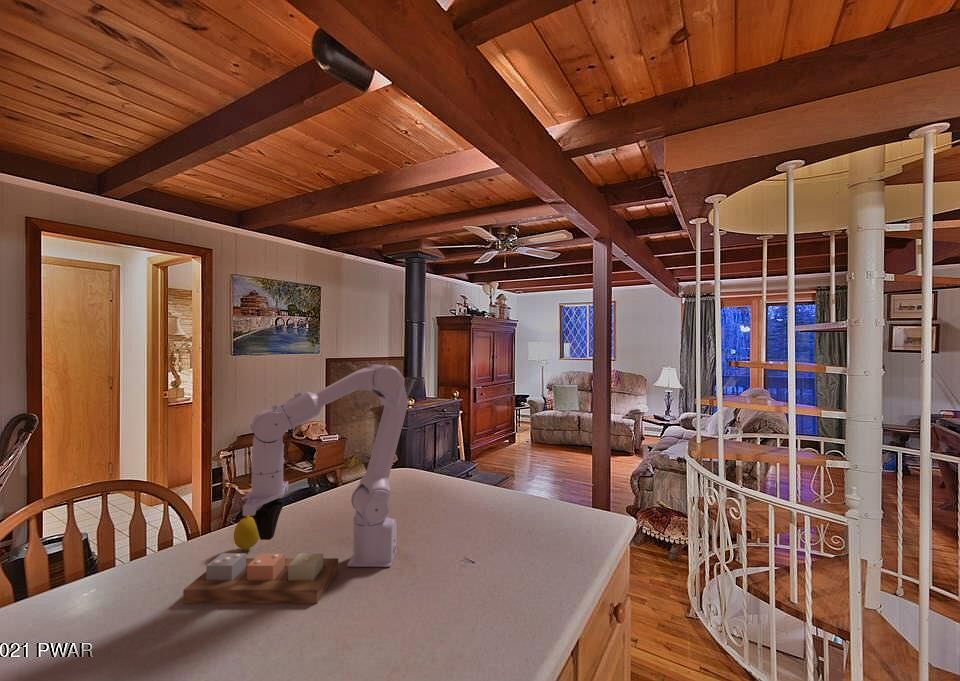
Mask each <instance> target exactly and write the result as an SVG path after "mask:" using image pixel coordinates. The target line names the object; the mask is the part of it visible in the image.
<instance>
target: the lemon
mask: <svg viewBox="0 0 960 681" xmlns="http://www.w3.org/2000/svg"><path fill="white" fill-rule="evenodd" d="M259 540H260V537H259V533H258V529H257V526H256V523H255V521H254V519H253V517H252V516H244V517H243V518H242V519H240V521H238V522H237V523H236V525H235V528H234V532H233V541H234V544H235V545H236V547H238V548H240V549H243V550H244V551H249V550H250V549H251V548H253V547H254V546H255V545H256V544H257V543H258V541H259Z"/></svg>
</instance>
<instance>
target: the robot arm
mask: <svg viewBox="0 0 960 681" xmlns="http://www.w3.org/2000/svg"><path fill="white" fill-rule="evenodd" d="M405 380H406V379H405V376H403V374H402V372H401V371H400V370H399V369H398V368H397V367H395V366H393V365H389V364H388V365H387V364H385V365H384V364H380V363H379V364H378V363H373V364H371V365H369V366H368V367H362V368H361V369H357V370H356V371H354V372H352V373H350V374H348V375H346V376H345V377H342V378H341V379H339V380H337V381H334V383H331V384H330V385H328V386H326V387H325V388H322V389H321V390H319V391H316V392H315V393H314V392H311V391H304V392H301V391H300V390H299V391H297V392H295V393H293V395H294V396H293V397H292V398H289V399H287V400H285V401H283V402H281V403H280V404H277V403H274V404H271V408H272V409H265V410H264V409H263V410H261V411H259V412H258V413H257V414H256V415H255V416H254V417H253V419H252V421H251V423H250V427H251V428H250V429H251V431H252V433H253V434H254V436H253V439H252V446H253V448H251V490H249V491H247V492H246V493H245V497H246V498H248V499H247V501H246V503H244V504H242V516H243V517H246V516H250V517H253V519H254V521H255V523H256V526H257V529H258V533H259V540H261V541H265V540H266V541H267V540H268V541H269V540H272V539H273V538H274V535H275V532H276V528H277V525H278V522H279V517H280V515H281V512H282V510H283V508H284V506H285V504H286V498H283V497H284V495H285V493H286V492H287V491H289V481H288V480H287V481H285V480H284V454H285V453H284V445H283V444H284V442H283V441H284V439H283V437H284V436H285V434H286V431H287V430H288V431H289V430H293V429H295V428H296V427H298V426H300V425H302V424H304V423H306V422H308V421H310V420H312V419H313V418H315V417H317V416H319V415H320V413H321V411H322V408H323V407H324V406H326V405H328V404H330V403H333V402H335V401H337V400H338V399H341V398H343V397H346V396H347V395H349V394H351V393H352V394H353V392H356V391H366V392H367V391H370V392H372V393H374V394H375V395H376V396H377V397H378V399H379V401H380V402H381V404H382V406H383V410H382V414H381V416H380V417H381V418H380V422H379V425H378V428H377V432H376V436H375V439H374V444H373V447H372V450H371V453H370V458H369V461H368V465H367V468H366V472H365V474H364V475H362V477H361V478H360V480H359V483H358V486H357V487H356V488H355V490H354V491H353V493H352V495H351V499H350V502H351V505H352V507H353V509H354V510H355V515H354V516H353V539H352V540H353V541H352V542H353V545H352V546H353V548H352V551H353V554H352V556H351V558H349V561H348V563H347V565H346V566H347V567H349V568H350V567H351V568H352V567H353V568H360V567H361V568H365V567H366V568H369V567H370V568H374V567H375V568H383V567H384V568H388V567H391V566H392V563H393V561H394V558H395V556H396V555H397V554H396V553H397V551H398V547H397V543H398V542H397V540H398V539H397V535H398V534H397V529H398V528H397V526H398V525H397V524H398V523H397V520H396V519H395V518H391V517H388V515H389V513H390V509H391V505H390V494H391V486H390V482H389V479H390V474H391V470H392V467H393V463H394V459H395V456H396V451H397V448H398V444H399V440H400V436H401V434H402V433H401V432H402V429H403V425H404V422H405V417H406V415H407V410H408V406H409V400H408V396H407V395H408V394H407V392H406V387H405Z"/></svg>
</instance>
